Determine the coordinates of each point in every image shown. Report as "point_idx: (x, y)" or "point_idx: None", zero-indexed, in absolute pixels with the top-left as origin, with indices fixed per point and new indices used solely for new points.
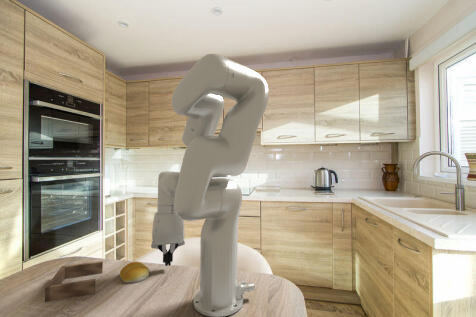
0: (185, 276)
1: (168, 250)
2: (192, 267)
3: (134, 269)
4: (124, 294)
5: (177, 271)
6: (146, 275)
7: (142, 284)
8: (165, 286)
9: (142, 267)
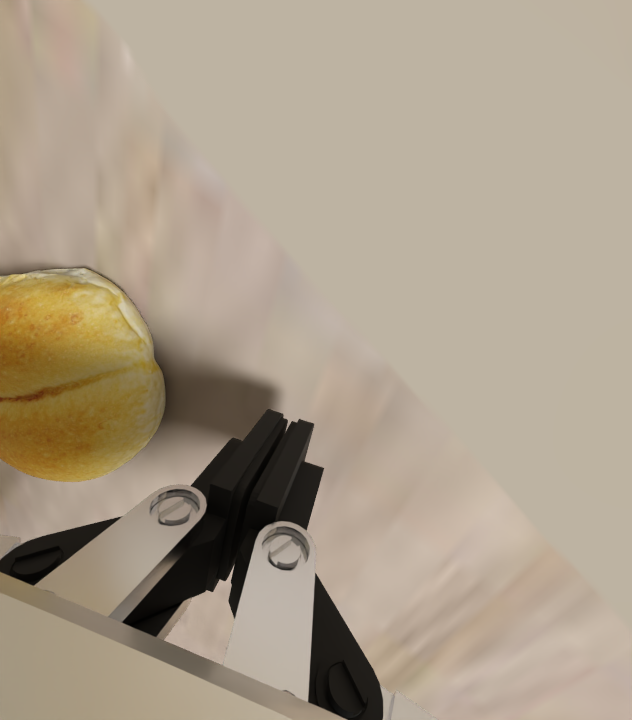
0: (368, 578)
1: (254, 509)
2: (496, 504)
3: (8, 459)
4: (48, 523)
5: (355, 485)
6: (132, 457)
7: (123, 494)
8: (224, 589)
9: (65, 447)
